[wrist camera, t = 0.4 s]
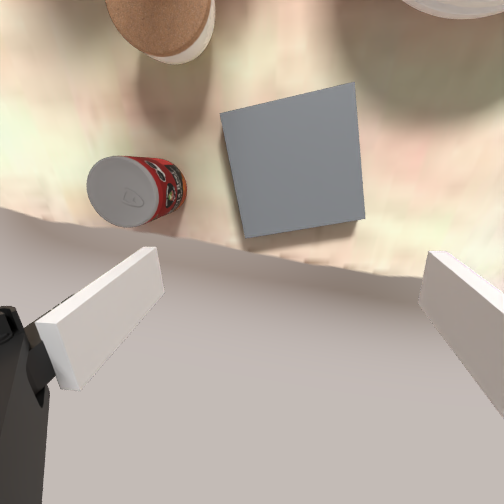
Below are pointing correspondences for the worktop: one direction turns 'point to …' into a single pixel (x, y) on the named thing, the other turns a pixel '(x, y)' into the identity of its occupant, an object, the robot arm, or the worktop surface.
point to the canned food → (135, 189)
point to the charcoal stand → (296, 161)
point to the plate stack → (458, 8)
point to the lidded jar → (165, 26)
